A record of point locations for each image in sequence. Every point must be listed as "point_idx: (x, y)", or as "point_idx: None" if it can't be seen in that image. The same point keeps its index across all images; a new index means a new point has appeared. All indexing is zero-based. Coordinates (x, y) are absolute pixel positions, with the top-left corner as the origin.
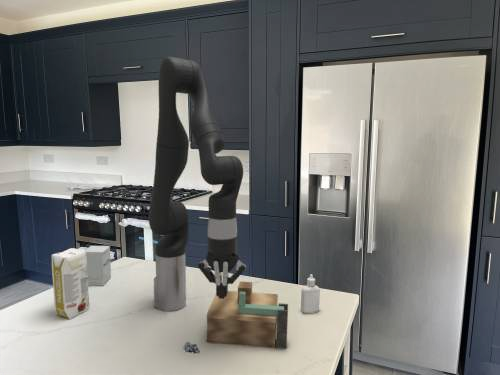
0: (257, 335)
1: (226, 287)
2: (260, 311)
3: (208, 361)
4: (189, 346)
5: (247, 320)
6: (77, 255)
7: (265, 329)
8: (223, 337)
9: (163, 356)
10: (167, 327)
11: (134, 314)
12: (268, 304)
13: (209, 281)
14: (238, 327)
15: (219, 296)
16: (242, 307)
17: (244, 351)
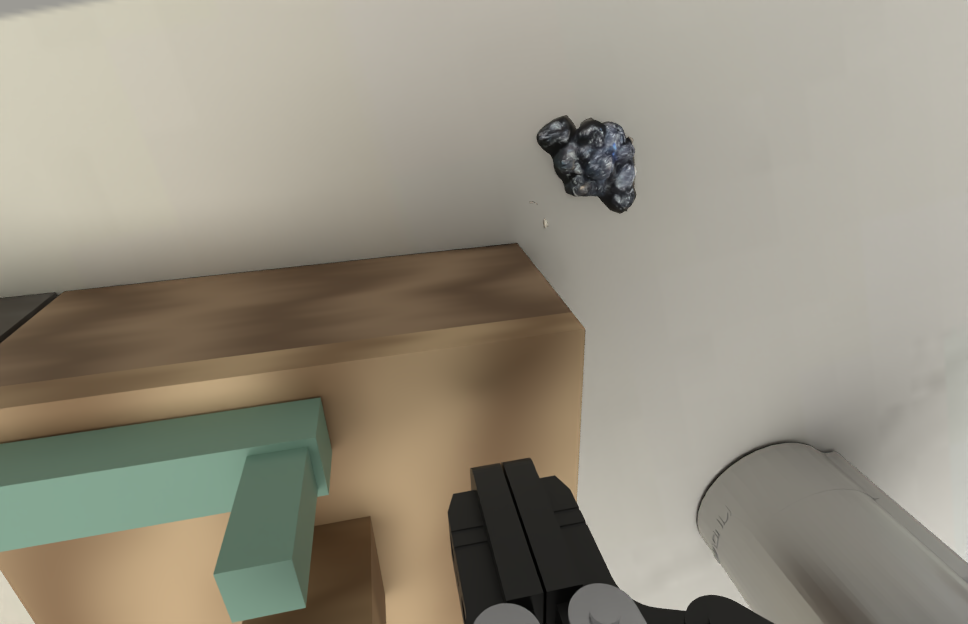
0: (167, 311)
1: (468, 595)
2: (75, 454)
3: (457, 48)
4: (610, 154)
5: (221, 358)
6: None
7: (78, 345)
8: (420, 269)
9: (737, 47)
10: (754, 320)
11: (918, 377)
12: (108, 593)
13: (739, 605)
14: (310, 315)
15: (525, 472)
16: (266, 443)
17: (256, 207)
